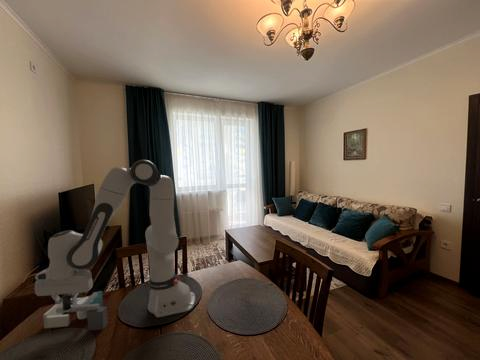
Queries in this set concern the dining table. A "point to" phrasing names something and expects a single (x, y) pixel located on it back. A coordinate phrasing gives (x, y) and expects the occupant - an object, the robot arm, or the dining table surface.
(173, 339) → the dining table surface
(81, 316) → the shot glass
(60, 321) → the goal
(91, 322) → the rod housing
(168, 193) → the robot arm
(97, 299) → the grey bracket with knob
